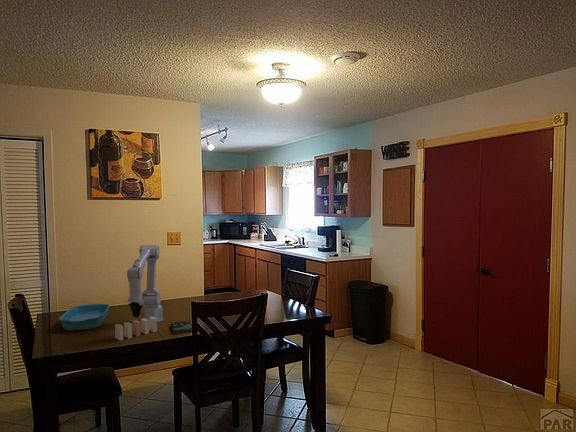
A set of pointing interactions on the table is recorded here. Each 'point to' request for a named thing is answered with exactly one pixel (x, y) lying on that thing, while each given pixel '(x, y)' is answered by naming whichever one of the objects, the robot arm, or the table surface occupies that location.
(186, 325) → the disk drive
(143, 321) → the domino
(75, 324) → the casserole dish
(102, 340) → the table surface
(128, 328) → the domino
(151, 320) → the domino
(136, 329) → the domino
